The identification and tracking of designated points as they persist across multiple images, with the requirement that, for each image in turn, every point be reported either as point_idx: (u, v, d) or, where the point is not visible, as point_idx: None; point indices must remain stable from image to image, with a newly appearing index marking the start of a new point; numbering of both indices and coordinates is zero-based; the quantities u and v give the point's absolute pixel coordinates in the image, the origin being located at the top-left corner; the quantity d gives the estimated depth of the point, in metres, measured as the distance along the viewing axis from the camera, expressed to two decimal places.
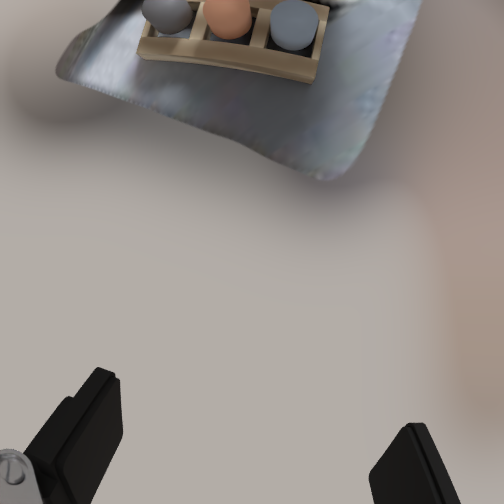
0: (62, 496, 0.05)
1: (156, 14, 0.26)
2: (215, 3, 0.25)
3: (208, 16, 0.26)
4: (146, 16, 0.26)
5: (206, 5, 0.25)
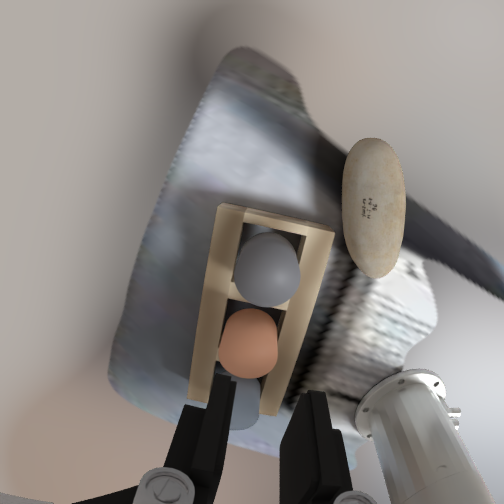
0: None
1: (248, 269, 0.23)
2: (255, 344, 0.25)
3: (234, 336, 0.25)
4: (248, 253, 0.23)
5: (254, 334, 0.25)
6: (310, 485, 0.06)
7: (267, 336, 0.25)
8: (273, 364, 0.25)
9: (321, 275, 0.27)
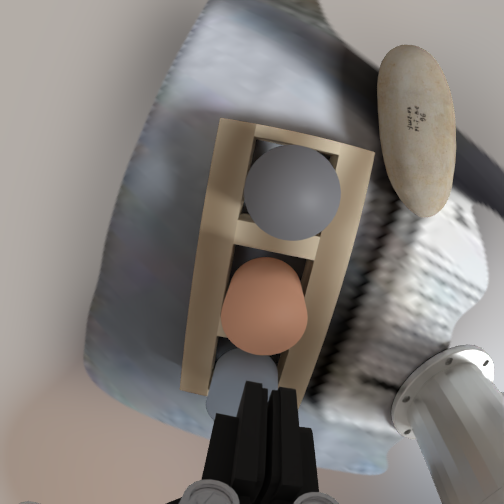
0: None
1: (265, 181, 0.16)
2: (275, 301, 0.17)
3: (245, 289, 0.17)
4: (264, 158, 0.15)
5: (273, 284, 0.17)
6: (270, 484, 0.06)
7: (293, 288, 0.17)
8: (301, 333, 0.18)
9: (359, 209, 0.20)
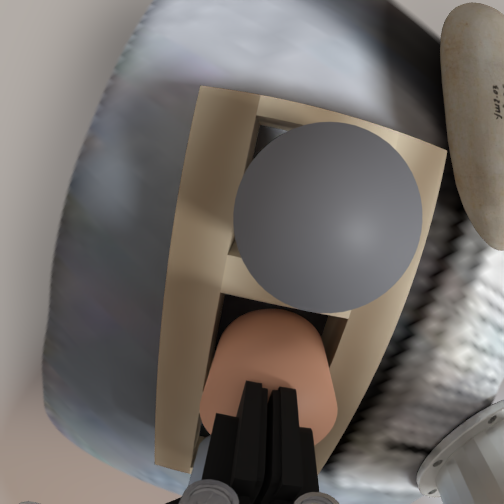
0: None
1: (278, 197, 0.07)
2: None
3: (237, 377, 0.10)
4: (277, 148, 0.07)
5: (286, 372, 0.09)
6: (270, 484, 0.06)
7: (318, 376, 0.10)
8: (325, 433, 0.10)
9: (422, 241, 0.12)
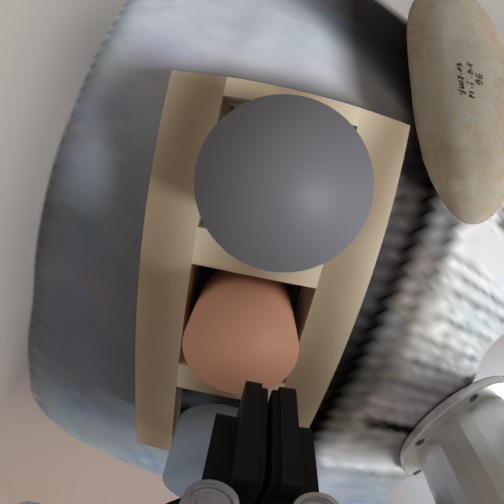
0: None
1: (234, 163, 0.08)
2: (255, 329, 0.12)
3: (213, 312, 0.12)
4: (232, 119, 0.08)
5: (252, 306, 0.12)
6: (270, 483, 0.06)
7: (279, 311, 0.12)
8: (290, 368, 0.13)
9: (387, 212, 0.13)
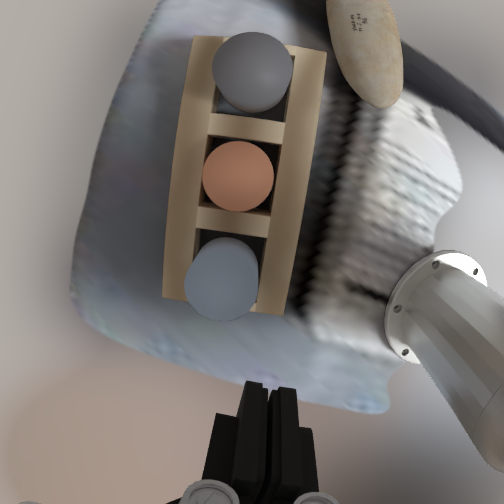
0: None
1: (229, 59, 0.17)
2: (245, 159, 0.21)
3: (220, 150, 0.21)
4: (227, 43, 0.16)
5: (243, 145, 0.21)
6: (270, 483, 0.06)
7: None
8: (270, 187, 0.21)
9: (318, 98, 0.21)
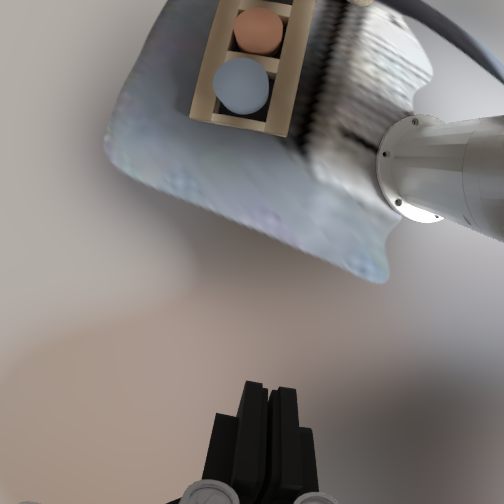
0: None
1: None
2: (264, 17, 0.25)
3: (247, 12, 0.25)
4: None
5: (263, 10, 0.25)
6: (270, 484, 0.06)
7: (273, 12, 0.25)
8: (280, 33, 0.26)
9: None
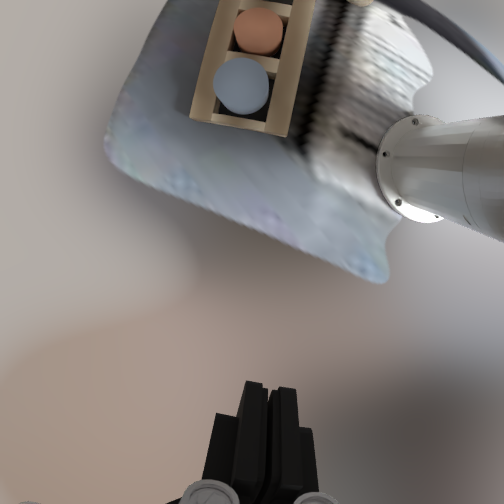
0: None
1: None
2: (264, 17, 0.25)
3: (247, 12, 0.25)
4: None
5: (263, 10, 0.25)
6: (270, 484, 0.06)
7: (273, 12, 0.25)
8: (280, 33, 0.26)
9: None
